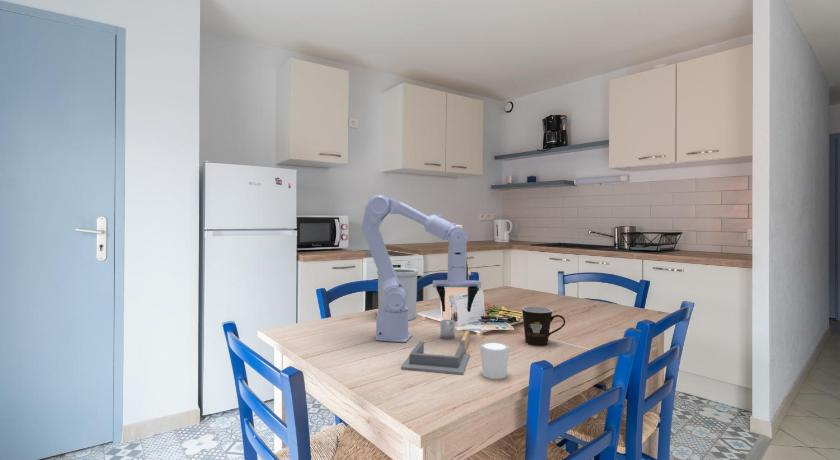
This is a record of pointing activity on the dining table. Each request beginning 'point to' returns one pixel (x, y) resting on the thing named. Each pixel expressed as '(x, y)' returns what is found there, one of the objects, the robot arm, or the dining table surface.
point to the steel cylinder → (447, 329)
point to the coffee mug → (538, 324)
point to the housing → (436, 361)
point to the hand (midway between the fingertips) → (456, 310)
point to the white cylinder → (494, 359)
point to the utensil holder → (408, 282)
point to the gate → (465, 339)
